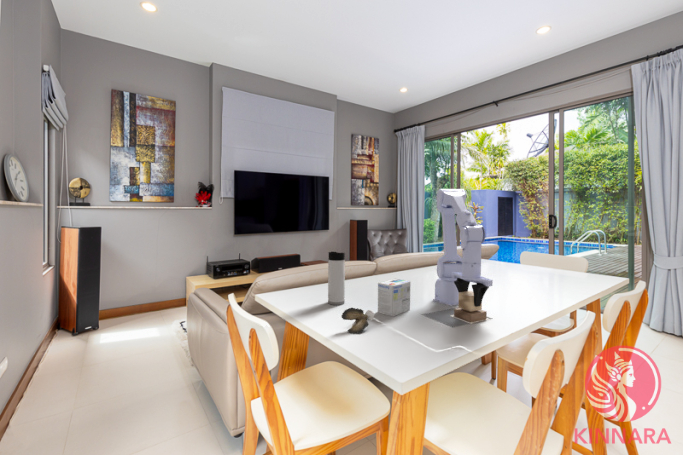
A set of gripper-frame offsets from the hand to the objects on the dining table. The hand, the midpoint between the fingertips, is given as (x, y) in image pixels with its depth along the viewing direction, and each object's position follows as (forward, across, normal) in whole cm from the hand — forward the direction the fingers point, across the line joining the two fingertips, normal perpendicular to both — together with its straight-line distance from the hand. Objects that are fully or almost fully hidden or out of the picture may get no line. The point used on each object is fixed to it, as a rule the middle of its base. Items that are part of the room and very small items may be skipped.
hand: (470, 303), depth 106 cm
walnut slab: (+5, 0, 0) cm, 5 cm away
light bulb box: (+5, -17, -18) cm, 25 cm away
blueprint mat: (+5, -3, -3) cm, 7 cm away
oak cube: (+2, 0, 0) cm, 2 cm away
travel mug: (+5, -36, -31) cm, 48 cm away
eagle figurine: (+5, -9, -37) cm, 39 cm away
